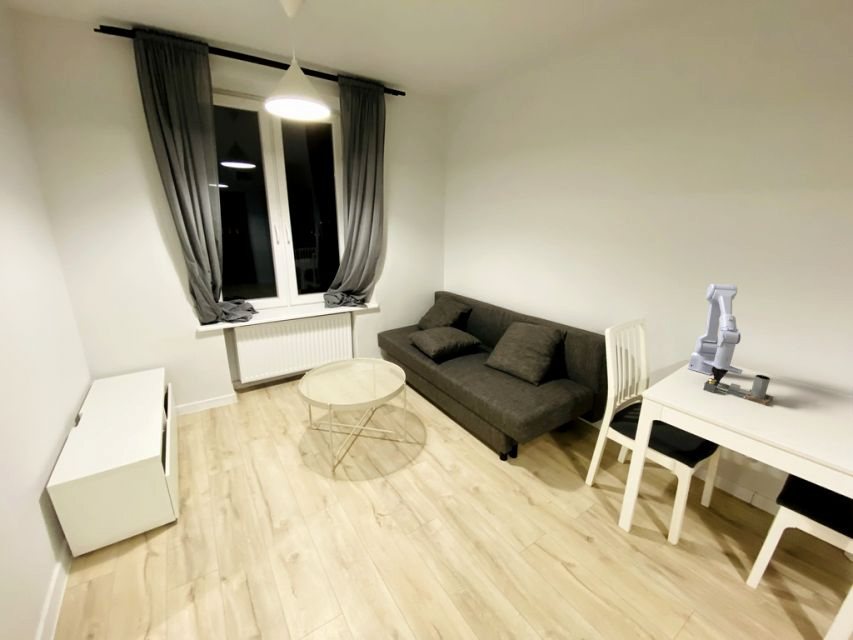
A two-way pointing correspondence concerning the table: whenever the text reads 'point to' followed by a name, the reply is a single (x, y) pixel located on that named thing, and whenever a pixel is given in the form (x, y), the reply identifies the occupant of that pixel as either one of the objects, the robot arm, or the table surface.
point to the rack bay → (759, 399)
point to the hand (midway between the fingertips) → (716, 383)
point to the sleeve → (728, 391)
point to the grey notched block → (738, 390)
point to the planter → (760, 387)
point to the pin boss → (710, 387)
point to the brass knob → (712, 381)
